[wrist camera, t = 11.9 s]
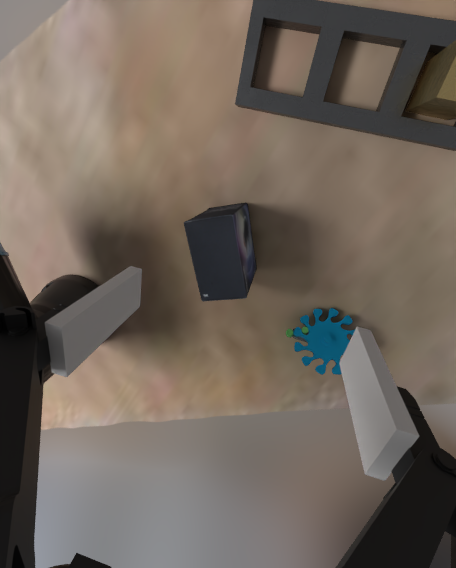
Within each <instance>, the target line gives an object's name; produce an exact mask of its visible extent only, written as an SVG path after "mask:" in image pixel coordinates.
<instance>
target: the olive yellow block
mask: <svg viewBox="0 0 456 568" xmlns="http://www.w3.org/2000/svg"><path fill="white" fill-rule="evenodd" d="M405 111H406V112H411V113H415V114H420V115H425V116H430V117H434V118H439V119H444V120H448V119H452V118H456V40H455V41H454V42H453V43H451V44H450V45H449V46H447V47H446V48H445V49H443V50H442V51H441V52H439V53H438V54H437V55H435V56H434V57H433V58H431V59H430V60H429V61H427V62H426V64H425V66H424V69H423V71H422V73H421V75H420V78H419V80H418V82H417V85H416V87H415V89H414V92H413V94H412V96H411V99H410V101H409V103H408V106H407V108H406V110H405Z"/></svg>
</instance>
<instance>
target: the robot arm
mask: <svg viewBox="0 0 456 568" xmlns="http://www.w3.org/2000/svg"><path fill="white" fill-rule="evenodd" d="M8 256H9V254H8V253H7V252H6V251H5V250H4V248H3V247H2V245H1V243H0V568H35V552H34V532H35V515H36V498H37V482H38V465H39V447H40V432H41V415H42V398H43V384H44V383H45V382H46V381H47V380H48V379H49V378H50V377H51V376H53V375H54V374H58V375H61V376H64V377H68V376H69V375H70V374H71V373H72V372H73V371H74V370H75V369H76V368H77V367H78V366H79V365H80V364H81V363H82V362H83V361H84V360H85V359H86V358H87V357H88V356H89V355H90V354H91V353H92V352H94V351H95V350H96V349H97V348H98V347H99V346H100V345H101V344H102V343H103V342H104V341H105V340H106V339H108V338H109V337H110V336H111V335H112V333H113V332H114V331H115V330H116V329H117V328H118V327H119V326H120V325H121V324H123V323H124V322H125V321H126V320H127V319H128V318H129V317H130V316H131V315H132V314H133V313H134V312H135V311H136V310H137V309H138V308H139V307H140V300H141V279H142V269H141V268H137V267H133V266H130V267H128V268H127V269H125V270H123V271H122V272H120V273H119V274H117V275H116V276H114V277H113V278H111V279H110V280H108V281H107V282H105V283H104V284H102V285H101V286H99V287H98V286H97V285H96V284H94V283H93V282H91V281H90V280H88V279H86V278H83V277H80V276H76V275H65V276H61V277H59V278H57V279H55V280H53V281H51V282H50V283H48V284H47V285H46V286H45V287H44V288H43V289H42V291H41V293H39V294H38V295H37V296H36V297H35V298H34V299H33V300H32V301H31V303H29V301H28V299H27V297H26V294H25V292H24V290H23V288H22V286H21V284H20V282H19V279H18V277H17V275H16V273H15V271H14V268H13V266H12V264H11V262H10V260H9V257H8ZM339 364H340V368H341V373H342V377H343V381H344V386H345V390H346V394H347V399H348V403H349V407H350V411H351V416H352V420H353V424H354V429H355V433H356V437H357V441H358V446H359V450H360V455H361V459H362V463H363V468H364V472H365V475H369V476H372V477H375V478H378V479H381V480H384V481H385V480H386V479H387V477H388V476H389V475H390V474H391V472H392V473H393V477H394V480H395V482H396V483H395V484H394V485H393V487H392V488H391V489H390V490H389V492H388V493H387V494H386V495H385V496H384V498H383V501H382V502H381V504H380V505H379V506H378V508H377V509H376V511H375V512H374V514H373V515H372V516H371V518H370V519H369V521H368V522H367V524H366V525H365V526H364V528H363V529H362V531H361V532H360V534H359V535H358V537H357V538H356V539H355V541H354V542H353V544H352V545H351V547H350V548H349V549H348V551H347V552H346V554H345V555H344V556H343V558H342V559H341V561H340V562H339V564H338V565H337V566H336V568H429V567H430V564H431V562H432V559H433V557H434V555H435V553H436V550H437V548H438V545H439V543H440V541H441V539H442V536H443V534H444V532H445V531H446V532H448V533H449V534H451V568H456V459H455V458H454V457H452V456H451V455H450V454H449V453H447V452H446V451H444V450H443V449H441V448H440V447H439V445H438V443H437V441H436V439H435V437H434V435H433V433H432V432H431V429H430V428H429V426H428V424H427V422H426V420H425V419H424V416H423V414H422V412H421V411H420V408H419V406H418V404H417V402H416V400H415V399H414V397H413V396H412V395H411V394H410V393H409V392H408V391H407V390H406V389H404V388H400V387H397V386H396V384H395V382H394V380H393V378H392V375H391V373H390V371H389V369H388V367H387V365H386V362H385V360H384V358H383V356H382V354H381V351H380V349H379V347H378V345H377V343H376V341H375V338H374V336H373V334H372V332H371V330H368V329H365V328H361V327H356V329H355V331H354V333H353V336H352V338H351V340H350V342H349V344H348V346H347V348H346V350H345V352H344V354H343V356H342V358H341V361H340V363H339ZM50 568H111V567H110V566H108V565H105V564H103V563H100V562H98V561H95V560H93V559H90V558H88V557H86V556H83V555H80V554H78V553H76V555H75V557H74V559H73V560H72V562H71V564H64V565H58V566H54V567H50Z"/></svg>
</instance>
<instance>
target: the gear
mask: <svg viewBox="0 0 456 568" xmlns="http://www.w3.org/2000/svg"><path fill="white" fill-rule="evenodd" d="M313 314H314V316H315V325H314V326H310V325H309V323H308V322H309V317H308V315H305V316H303V317H301V318H300V321H301V323H303V324H304V325H305V326H306V327H302V329H301V328H299V327H296V328H294V329H293V330H291V329H288V330H287V331H286V335H287V337H293V338H295V339H298V340H301V341H305V342H308V346H303V345H302V344H301V343H299V342H296V343H295V346H294V349H295V351H296V352H299V351H301V350H309V351H311V352H313V357H307V356H304V357H303V358H302V362H303V363H304V365H305V366H308V365H309V364H310V363H311V361H313V360H314V359H318V358H321V359H323V361H324V363H323V364H322V365H319V366H317V367H316V369H315V370H316V371H317V372H318V373H320V374H322V375H323V374H324V373H325V371H326V370H325V369H326V365H327V363H328V362H329V361H330V360H334V361H335V362H336V365H335V367H334V368H333V369H332V373H333V374H342V373H341V368H340V364H339V363H340V357H341V355H343V354H344V352H345V350H346V348H347V346H348V344H349V342H350V340H349V339H348V338H347V335H348V334H350V335H352V336H353V333H354V331H355V330H351V331H348V330H344V329H342V328H341V324H345V325H350V324H351V323H352V322H353V321H352V319H351V317H350V316H349V315H347V316H345V317H344V318H343V320H341V321H340V322H337V323H333V322H331V320H330V319H331V318H333V317H336V316H337V315H338V311H337V310H335V309H333V308H331V309H330V310H329V315H328V318H327V319H326V320H325V321H324V322H321V321H320V320H319V317H320V316H321V314H322V309H314V311H313Z"/></svg>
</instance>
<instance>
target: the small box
mask: <svg viewBox="0 0 456 568" xmlns="http://www.w3.org/2000/svg"><path fill="white" fill-rule="evenodd" d="M184 227H185V231H186V236H187V240H188V244H189V248H190V253H191V257H192V262H193V266H194V270H195V274H196V279H197V283H198V287H199V292H200V296H201V300H202V301H214V300H229V299H243V298H247V295H248V292H249V289H250V286H251V283H252V280H253V277H254V274H255V272H256V261H255V254H254V246H253V239H252V232H251V225H250V218H249V211H248V204H247V203H241V204H234V205H227V206H221V207H214V208H209V209H208V210H207V211H205V212H203V213H201V214H199V215H197V216H195V217H194V218H192V219H190V220H188V221H186V222H184Z"/></svg>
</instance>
